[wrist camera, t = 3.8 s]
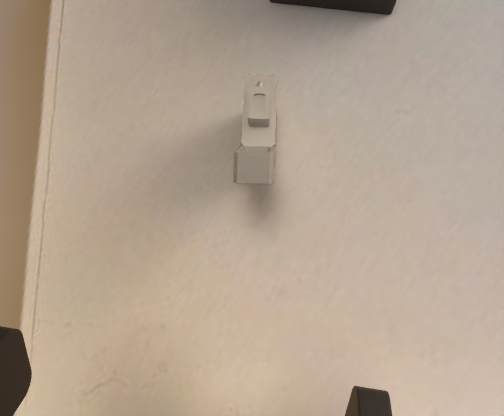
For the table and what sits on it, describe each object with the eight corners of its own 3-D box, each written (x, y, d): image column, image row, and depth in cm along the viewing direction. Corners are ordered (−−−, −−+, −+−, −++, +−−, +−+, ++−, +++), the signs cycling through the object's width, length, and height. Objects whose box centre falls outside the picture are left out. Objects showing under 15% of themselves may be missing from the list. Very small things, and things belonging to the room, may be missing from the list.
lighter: (248, 110, 29) (241, 32, 22) (276, 110, 29) (278, 32, 22) (242, 220, 28) (231, 178, 20) (272, 221, 28) (273, 180, 20)
